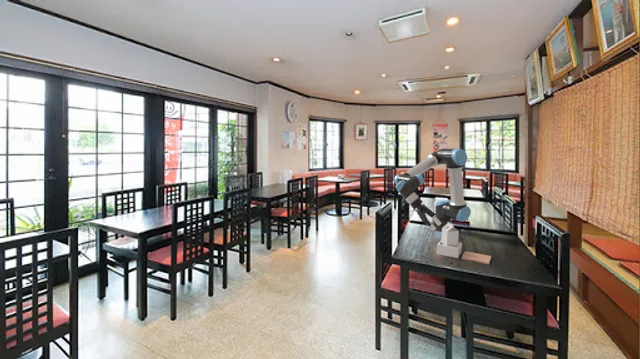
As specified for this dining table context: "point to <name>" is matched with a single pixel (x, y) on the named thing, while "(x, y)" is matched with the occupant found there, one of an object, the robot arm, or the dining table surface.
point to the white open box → (449, 250)
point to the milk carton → (449, 235)
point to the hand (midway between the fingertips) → (437, 227)
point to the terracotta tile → (476, 257)
